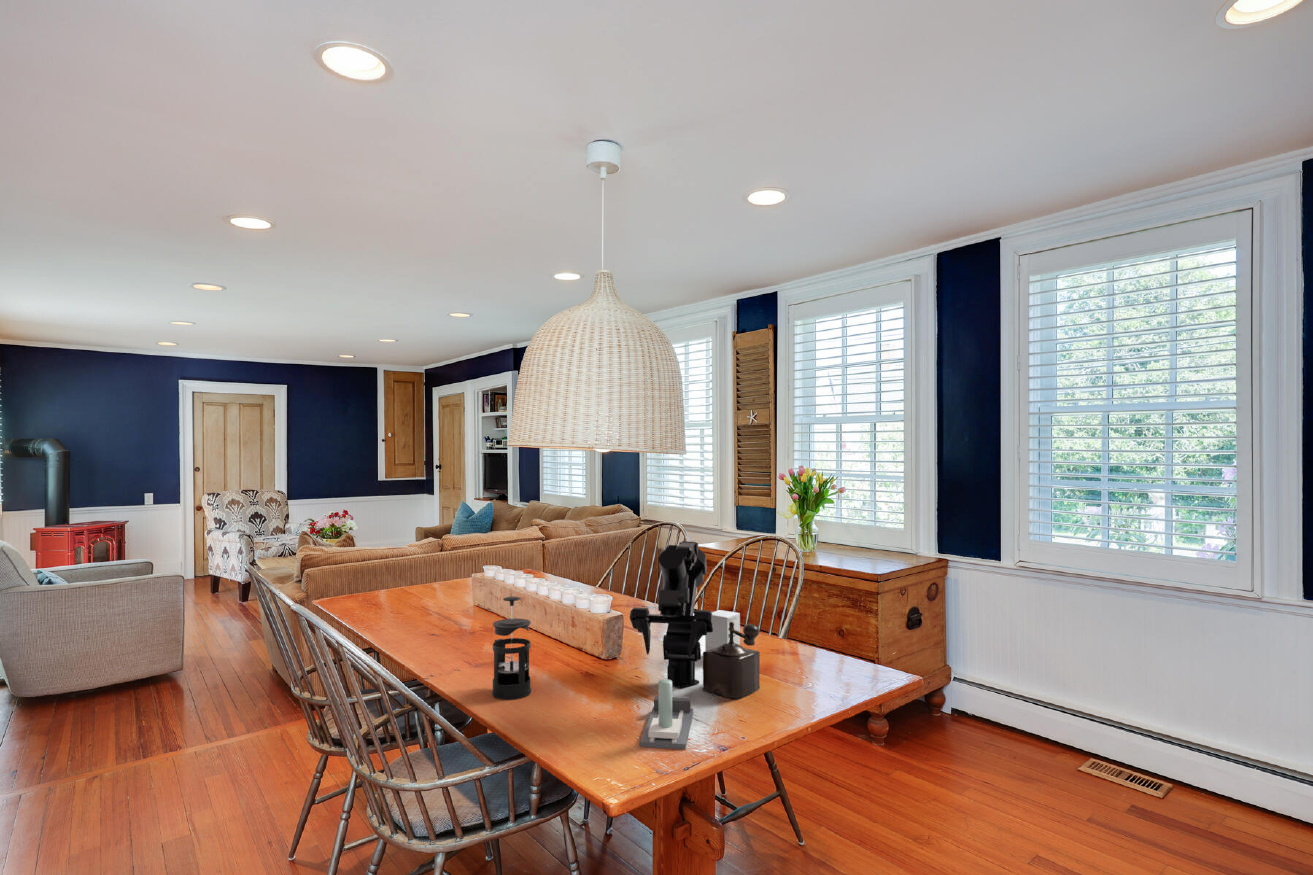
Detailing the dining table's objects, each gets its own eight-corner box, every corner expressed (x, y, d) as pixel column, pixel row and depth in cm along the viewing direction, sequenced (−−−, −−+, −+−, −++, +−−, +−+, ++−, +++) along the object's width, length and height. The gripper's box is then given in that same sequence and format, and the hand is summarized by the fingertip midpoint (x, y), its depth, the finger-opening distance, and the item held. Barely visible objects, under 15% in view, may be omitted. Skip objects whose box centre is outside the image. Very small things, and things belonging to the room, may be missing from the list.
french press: (540, 693, 167) (540, 597, 168) (507, 703, 161) (507, 603, 161) (513, 682, 176) (513, 590, 176) (480, 691, 169) (480, 596, 169)
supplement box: (727, 663, 190) (727, 617, 191) (704, 658, 195) (704, 613, 195) (740, 657, 196) (740, 612, 197) (718, 652, 201) (718, 608, 201)
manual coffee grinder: (699, 691, 169) (699, 616, 169) (726, 679, 177) (725, 609, 178) (753, 706, 159) (753, 627, 159) (779, 693, 167) (778, 618, 167)
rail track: (653, 710, 156) (653, 695, 156) (693, 712, 155) (693, 696, 155) (640, 746, 137) (640, 728, 137) (685, 749, 136) (685, 731, 136)
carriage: (653, 723, 145) (653, 675, 145) (681, 724, 144) (681, 676, 144) (648, 737, 138) (648, 686, 138) (678, 738, 137) (678, 687, 137)
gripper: (630, 572, 160) (620, 635, 150) (711, 575, 157) (706, 639, 146) (638, 597, 168) (628, 658, 158) (715, 600, 165) (711, 663, 154)
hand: (667, 654), depth 154 cm, fingers open, 9 cm apart
